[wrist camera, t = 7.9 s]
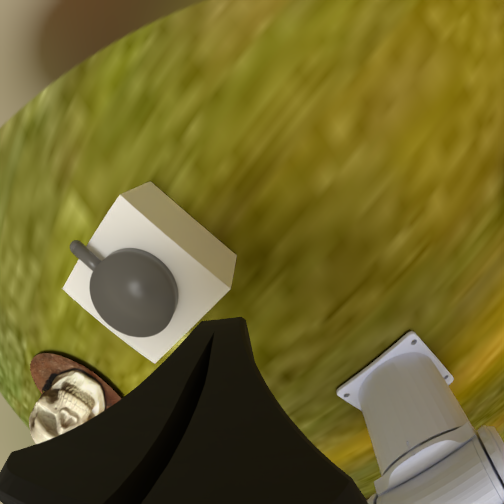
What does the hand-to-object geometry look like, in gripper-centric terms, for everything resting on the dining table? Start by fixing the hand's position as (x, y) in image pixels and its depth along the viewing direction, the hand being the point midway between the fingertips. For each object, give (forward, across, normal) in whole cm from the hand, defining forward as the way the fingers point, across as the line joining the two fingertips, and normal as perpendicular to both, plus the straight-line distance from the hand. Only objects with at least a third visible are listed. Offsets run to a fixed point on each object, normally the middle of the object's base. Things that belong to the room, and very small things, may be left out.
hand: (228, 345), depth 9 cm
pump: (+9, +6, -1) cm, 11 cm away
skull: (+11, +19, +13) cm, 26 cm away
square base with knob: (+10, +6, 0) cm, 12 cm away
